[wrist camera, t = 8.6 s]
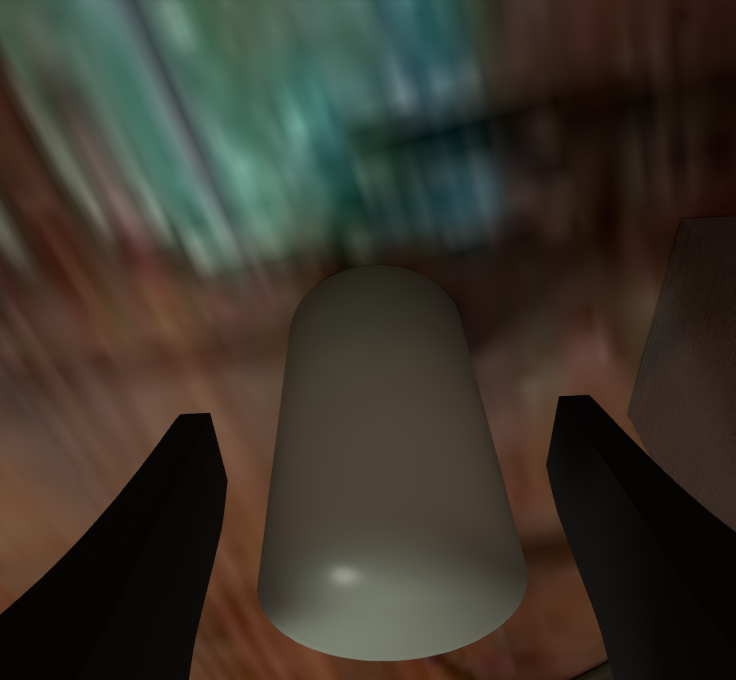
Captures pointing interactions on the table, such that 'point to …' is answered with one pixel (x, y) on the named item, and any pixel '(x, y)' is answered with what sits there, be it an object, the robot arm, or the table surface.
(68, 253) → the table surface
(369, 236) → the table surface
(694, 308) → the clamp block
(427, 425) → the plug
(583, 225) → the table surface
